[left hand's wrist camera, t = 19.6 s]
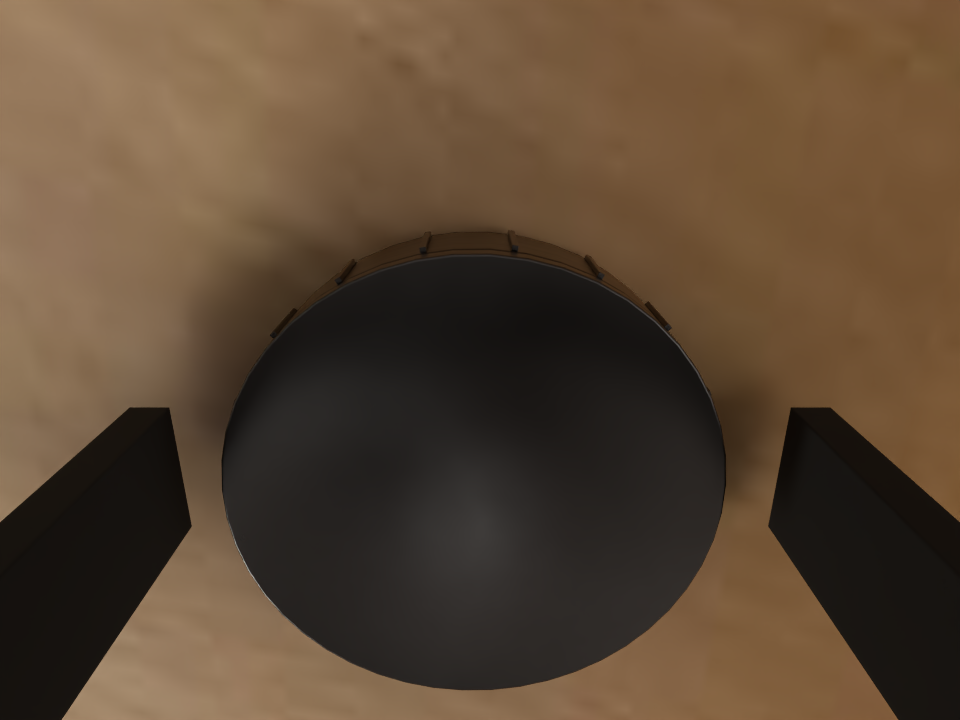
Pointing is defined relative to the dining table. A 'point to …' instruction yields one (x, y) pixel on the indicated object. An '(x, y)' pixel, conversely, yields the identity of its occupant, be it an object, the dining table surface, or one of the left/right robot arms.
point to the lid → (473, 464)
